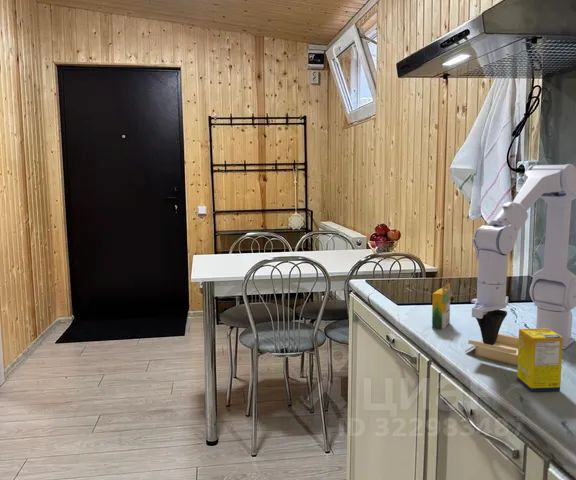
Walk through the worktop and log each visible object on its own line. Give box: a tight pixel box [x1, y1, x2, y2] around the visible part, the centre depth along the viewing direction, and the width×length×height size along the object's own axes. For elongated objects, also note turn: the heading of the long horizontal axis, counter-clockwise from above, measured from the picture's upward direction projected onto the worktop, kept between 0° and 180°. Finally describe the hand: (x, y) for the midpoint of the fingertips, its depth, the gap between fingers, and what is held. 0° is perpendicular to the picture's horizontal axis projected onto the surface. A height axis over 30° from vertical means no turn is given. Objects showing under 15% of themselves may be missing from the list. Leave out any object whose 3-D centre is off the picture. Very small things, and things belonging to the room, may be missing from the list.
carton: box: [464, 333, 519, 367], centre depth 119 cm, size 15×15×2 cm
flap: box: [468, 339, 516, 354], centre depth 111 cm, size 5×9×1 cm, turn 46°
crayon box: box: [431, 282, 451, 330], centre depth 140 cm, size 7×3×12 cm, turn 147°
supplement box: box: [516, 328, 563, 393], centre depth 100 cm, size 6×6×11 cm
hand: (489, 343), depth 109 cm, fingers closed
